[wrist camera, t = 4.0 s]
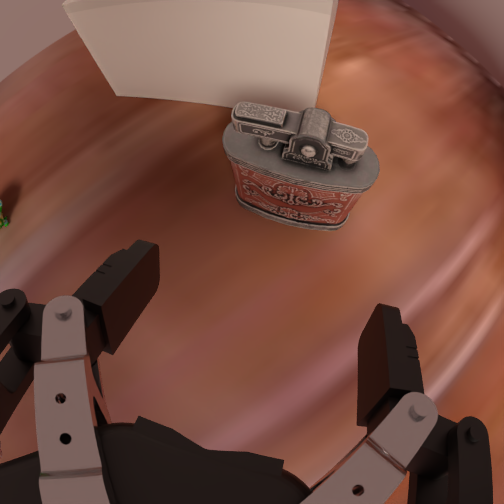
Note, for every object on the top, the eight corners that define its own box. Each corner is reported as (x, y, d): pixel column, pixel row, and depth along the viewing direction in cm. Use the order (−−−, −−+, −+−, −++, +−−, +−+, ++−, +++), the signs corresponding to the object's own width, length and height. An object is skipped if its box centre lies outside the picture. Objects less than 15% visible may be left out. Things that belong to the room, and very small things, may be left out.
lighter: (350, 196, 22) (398, 116, 13) (342, 239, 22) (393, 178, 12) (243, 168, 23) (228, 75, 13) (229, 210, 23) (203, 131, 13)
